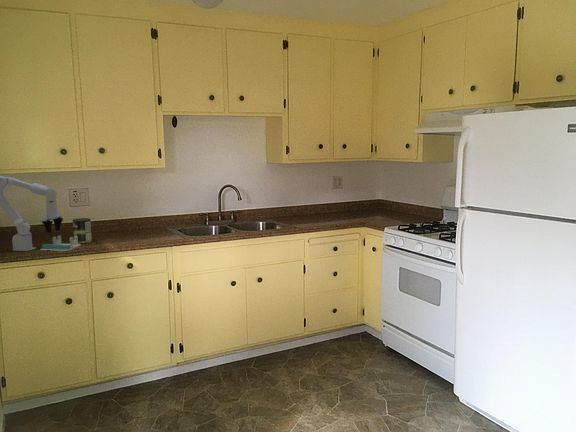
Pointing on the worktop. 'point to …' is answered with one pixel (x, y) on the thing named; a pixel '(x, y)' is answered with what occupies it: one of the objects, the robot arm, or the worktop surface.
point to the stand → (72, 244)
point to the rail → (55, 246)
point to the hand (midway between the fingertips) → (53, 231)
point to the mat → (56, 249)
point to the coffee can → (82, 229)
